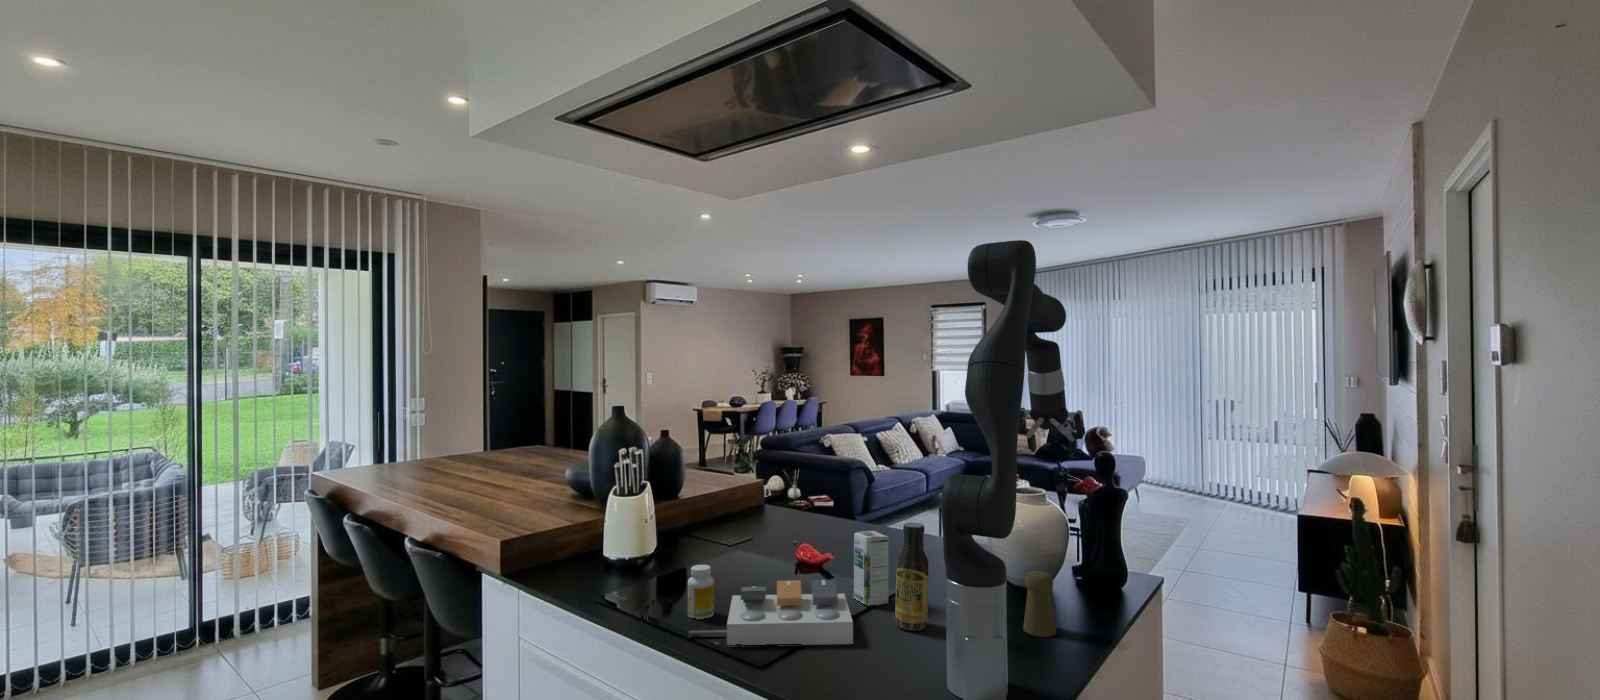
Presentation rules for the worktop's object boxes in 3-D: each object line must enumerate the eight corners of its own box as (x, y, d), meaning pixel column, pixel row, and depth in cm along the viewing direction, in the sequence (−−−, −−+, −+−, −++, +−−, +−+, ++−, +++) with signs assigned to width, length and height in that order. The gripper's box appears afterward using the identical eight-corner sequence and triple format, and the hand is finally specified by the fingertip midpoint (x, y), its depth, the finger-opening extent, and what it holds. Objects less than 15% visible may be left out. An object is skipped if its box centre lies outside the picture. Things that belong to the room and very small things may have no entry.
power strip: (853, 643, 119) (852, 620, 119) (685, 647, 118) (685, 623, 118) (844, 613, 134) (844, 592, 134) (695, 615, 133) (695, 594, 133)
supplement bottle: (719, 613, 134) (719, 566, 134) (701, 622, 129) (701, 572, 130) (700, 608, 137) (700, 561, 137) (682, 616, 132) (682, 568, 133)
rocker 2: (801, 609, 126) (801, 597, 125) (776, 610, 125) (776, 597, 125) (800, 591, 132) (800, 579, 131) (776, 592, 132) (776, 580, 131)
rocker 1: (765, 604, 125) (765, 589, 125) (740, 604, 125) (740, 590, 125) (766, 599, 131) (766, 586, 132) (742, 600, 131) (742, 586, 132)
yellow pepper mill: (1059, 637, 121) (1058, 578, 121) (1025, 635, 122) (1024, 576, 122) (1053, 625, 127) (1052, 568, 127) (1021, 623, 128) (1020, 566, 128)
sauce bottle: (890, 629, 125) (889, 525, 126) (901, 618, 131) (900, 518, 131) (923, 635, 122) (922, 529, 123) (933, 623, 128) (932, 522, 128)
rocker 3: (837, 609, 126) (837, 596, 125) (813, 609, 126) (813, 597, 125) (834, 591, 132) (835, 579, 132) (811, 591, 132) (811, 579, 131)
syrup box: (852, 599, 142) (852, 532, 142) (876, 595, 144) (875, 529, 145) (866, 607, 137) (865, 538, 137) (890, 603, 139) (889, 535, 139)
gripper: (1009, 392, 147) (1017, 456, 151) (1076, 394, 139) (1082, 463, 143) (1019, 380, 153) (1026, 443, 157) (1083, 381, 144) (1089, 448, 148)
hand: (1052, 452), depth 150 cm, fingers open, 8 cm apart
